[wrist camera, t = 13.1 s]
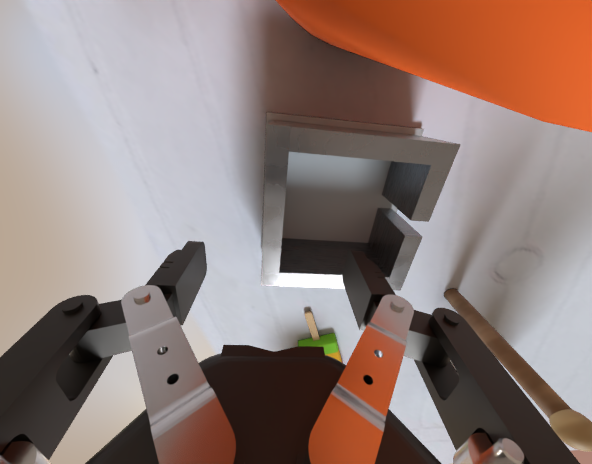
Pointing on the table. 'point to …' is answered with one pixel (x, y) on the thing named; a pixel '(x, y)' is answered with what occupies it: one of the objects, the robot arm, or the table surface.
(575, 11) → the flowerpot
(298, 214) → the grey mat
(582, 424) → the walnut post
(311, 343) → the popsicle
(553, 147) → the table surface
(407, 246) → the grey open box
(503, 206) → the table surface
